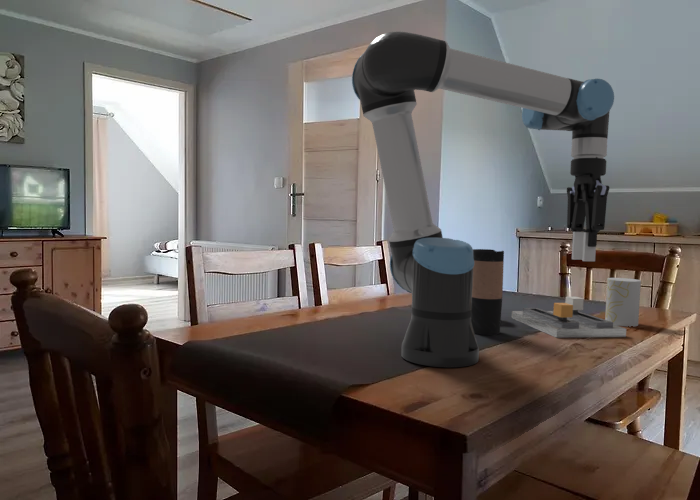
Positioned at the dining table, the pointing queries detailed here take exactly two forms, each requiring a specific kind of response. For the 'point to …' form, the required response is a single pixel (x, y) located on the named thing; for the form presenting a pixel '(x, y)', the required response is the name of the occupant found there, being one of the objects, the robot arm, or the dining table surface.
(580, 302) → the fader right
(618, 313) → the cup
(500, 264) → the travel mug
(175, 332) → the dining table surface
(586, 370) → the dining table surface
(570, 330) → the console
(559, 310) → the block
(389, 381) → the dining table surface
